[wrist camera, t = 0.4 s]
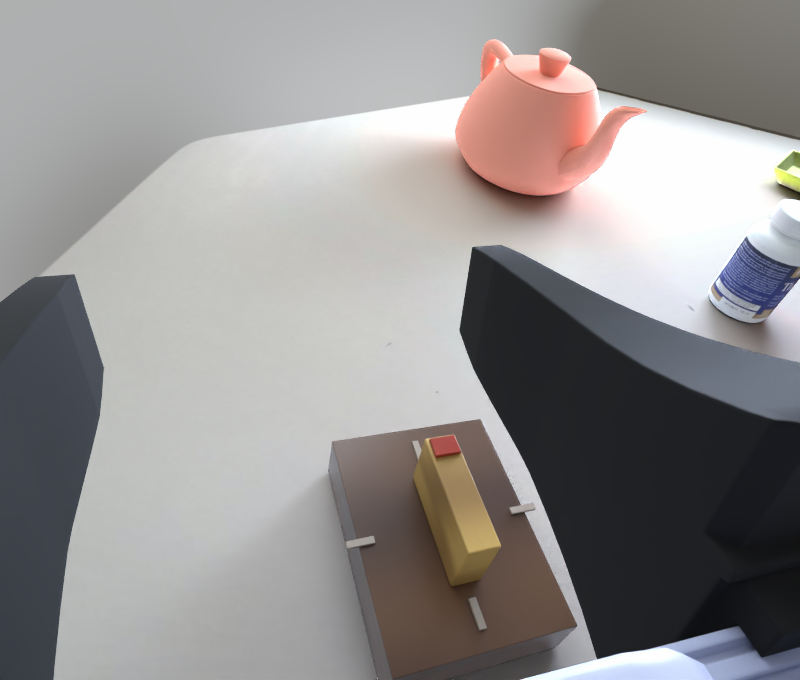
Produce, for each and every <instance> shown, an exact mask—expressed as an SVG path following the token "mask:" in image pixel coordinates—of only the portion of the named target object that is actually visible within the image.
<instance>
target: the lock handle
mask: <svg viewBox="0 0 800 680" xmlns="http://www.w3.org/2000/svg"><path fill="white" fill-rule="evenodd" d="M413 479H414V481H415V484H416V487H417V490H418V493H419V496H420V499H421V502H422V505H423V507H424V510H425V513H426V516H427V519H428V522H429V525H430V528H431V531H432V533H433V536H434V539H435V542H436V545H437V548H438V551H439V554H440V557H441V559H442V562H443V565H444V568H445V571H446V574H447V577H448V580H449V583H450V585H451V586H456V585H460V584H464V583H468V582H472V581H476V580H480V579H481V578H482V577H483V575H484V574H485V572H486V570H487V569H488V567H489V566H490V564H491V562H492V561H493V559H494V557H495V556H496V554H497V553H498V551H499V549H500V548H501V544H500V542H499V539H498V537H497V535H496V532H495V530H494V528H493V525H492V523H491V520H490V518H489V516H488V513H487V511H486V509H485V506H484V504H483V501H482V499H481V497H480V494H479V492H478V490H477V487H476V485H475V483H474V480H473V478H472V475H471V473H470V471H469V468H468V466H467V464H466V461H465V459H464V456H463V454H462V452H461V449H460V447H459V445H458V442H457V440H456V438H455V435H447V436H441V437H435V438H428V439H425V441H424V444H423V447H422V450H421V454H420V457H419V460H418V463H417V466H416V469H415V472H414V475H413Z"/></svg>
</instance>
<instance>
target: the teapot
mask: <svg viewBox="0 0 800 680" xmlns="http://www.w3.org/2000/svg"><path fill="white" fill-rule="evenodd" d="M498 60H499V61H500V62H501V63H500V64H499V65H498ZM570 60H571V57H570V56H569V55H568V54H567V53H565V52H563V51H561V50H558V49H554V48H544V49H541V50H540V53H539V56H537V55H516V56H514V55H513V54H512V53H511V51H510V50H509V49H508V48H507V47H506V46H505V45H504V44H503V43H501V42H500V41H498V40H489V41H488V42H487V43H486V44H485V46H484V48H483V52H482V58H481V83H480V84H479V85H478V87H477V88H476V89H475V90H474V91H473V93H472V95H471V96H470V98H469V99H468V101H467V102H466V104H465V106H464V108H463V110H462V112H461V114H460V117H459V119H458V122H457V126H456V130H455V134H456V141H457V144H458V146H459V149H460V151H461V153H462V155H463V157H464V158H465V160H466V162H467V164H468V165H469V166H470V167H471V168H472V169H473V170H474V171H475V172H476V173H477V174H478V175H480V176H481V177H483V178H484V179H486V180H487V181H489V182H491V183H493V184H495V185H497V186H499V187H502V188H504V189H507V190H510V191H513V192H517V193H521V194H527V195H541V196H542V195H553V194H558V193H562V192H564V191H567V190H569V189H571V188H573V187H575V186H577V185H578V184H580V183H582V182H583V181H585V180H586V179H587V178H588V177H589V176H590V175H591V174H592V173H594V172H595V171H597V170H598V169H599V168H600V167H601V166H602V164H603V163H604V162H605V160H606V158H607V157H608V155H609V153H610V151H611V148H612V146H613V143H614V141H615V138H616V136H617V134H618V132H619V130H620V128H621V127H622V126H623V124H624V123H625V122H626V121H627V120H629V119H630V118H631V117H634V116H636V115H639V114H642V113H645V112H647V111H646V110H643V109H639V108H634V107H626V106H620V107H617V108H614V109H613V110H612V111H610V112H609V113H608V114H607V115H606V116H605V118H604V119H603V120H602V118H601V110H600V103H599V97H598V93H597V89H596V85H595V83H594V82H593V80H592V79H591V78H590V77H589V76H588V75H587V74H585V73H584V72H582V71H581V70H579V69H577V68H575V67H573V66H571V65H569V62H570Z"/></svg>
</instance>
